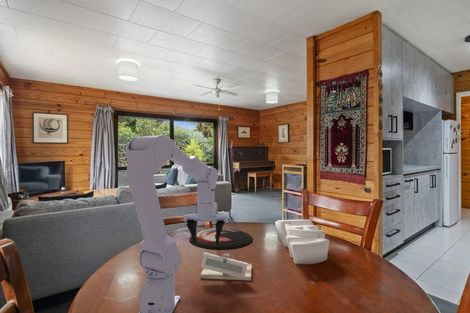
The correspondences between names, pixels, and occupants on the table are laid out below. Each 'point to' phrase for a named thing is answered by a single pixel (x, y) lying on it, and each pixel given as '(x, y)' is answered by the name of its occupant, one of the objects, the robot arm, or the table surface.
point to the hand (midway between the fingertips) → (206, 242)
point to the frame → (224, 265)
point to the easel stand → (217, 275)
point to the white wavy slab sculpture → (303, 241)
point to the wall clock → (222, 239)
